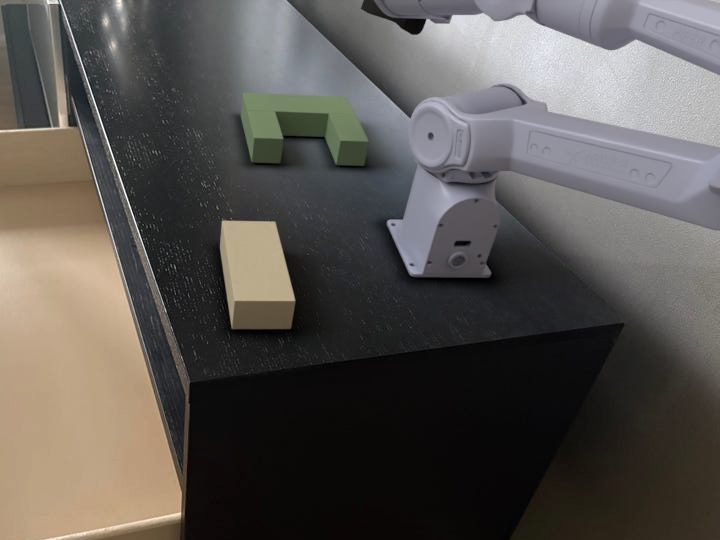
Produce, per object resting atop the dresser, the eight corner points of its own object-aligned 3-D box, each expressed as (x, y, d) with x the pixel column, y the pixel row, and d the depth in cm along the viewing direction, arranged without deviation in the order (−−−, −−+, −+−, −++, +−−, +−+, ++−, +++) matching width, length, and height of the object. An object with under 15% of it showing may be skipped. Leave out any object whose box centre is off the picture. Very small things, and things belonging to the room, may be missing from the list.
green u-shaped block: (364, 165, 86) (369, 141, 84) (251, 162, 84) (254, 137, 82) (342, 119, 95) (347, 96, 93) (240, 116, 93) (242, 92, 91)
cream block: (290, 329, 63) (295, 300, 61) (231, 329, 63) (234, 300, 61) (271, 248, 72) (275, 221, 70) (219, 247, 71) (221, 220, 69)
